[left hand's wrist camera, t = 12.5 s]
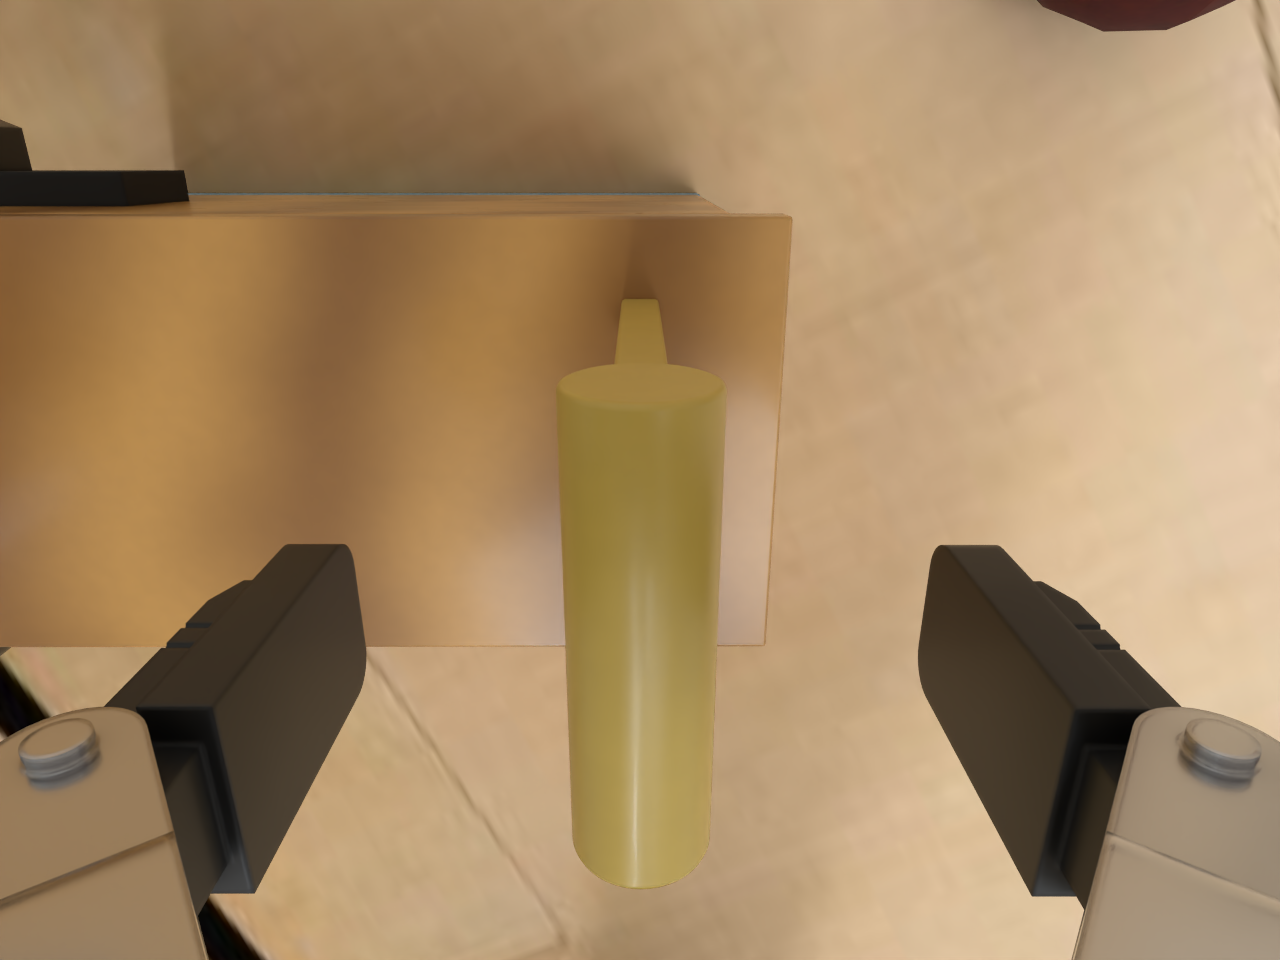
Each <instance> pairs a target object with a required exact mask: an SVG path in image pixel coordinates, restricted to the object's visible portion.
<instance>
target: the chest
mask: <svg viewBox="0 0 1280 960" xmlns="http://www.w3.org/2000/svg"><path fill="white" fill-rule="evenodd" d="M188 195H189V201H184V202H173V203H161V204H150V205H138V206H0V214H730V213H728V212H726V211H725V210H723V209H721V208H719V207H718V206H716V205H714V204H712V203H711V202H709V201H707V200H705V199H703V198H702V197H700V196H699V194H697V193H188Z"/></svg>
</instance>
